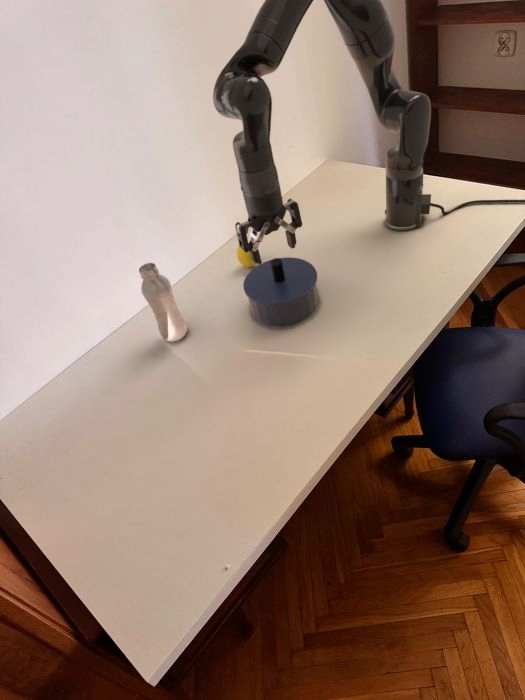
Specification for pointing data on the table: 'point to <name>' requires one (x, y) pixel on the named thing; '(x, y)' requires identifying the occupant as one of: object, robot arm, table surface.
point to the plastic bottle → (162, 303)
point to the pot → (286, 310)
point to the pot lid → (280, 281)
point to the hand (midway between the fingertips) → (275, 254)
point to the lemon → (244, 258)
